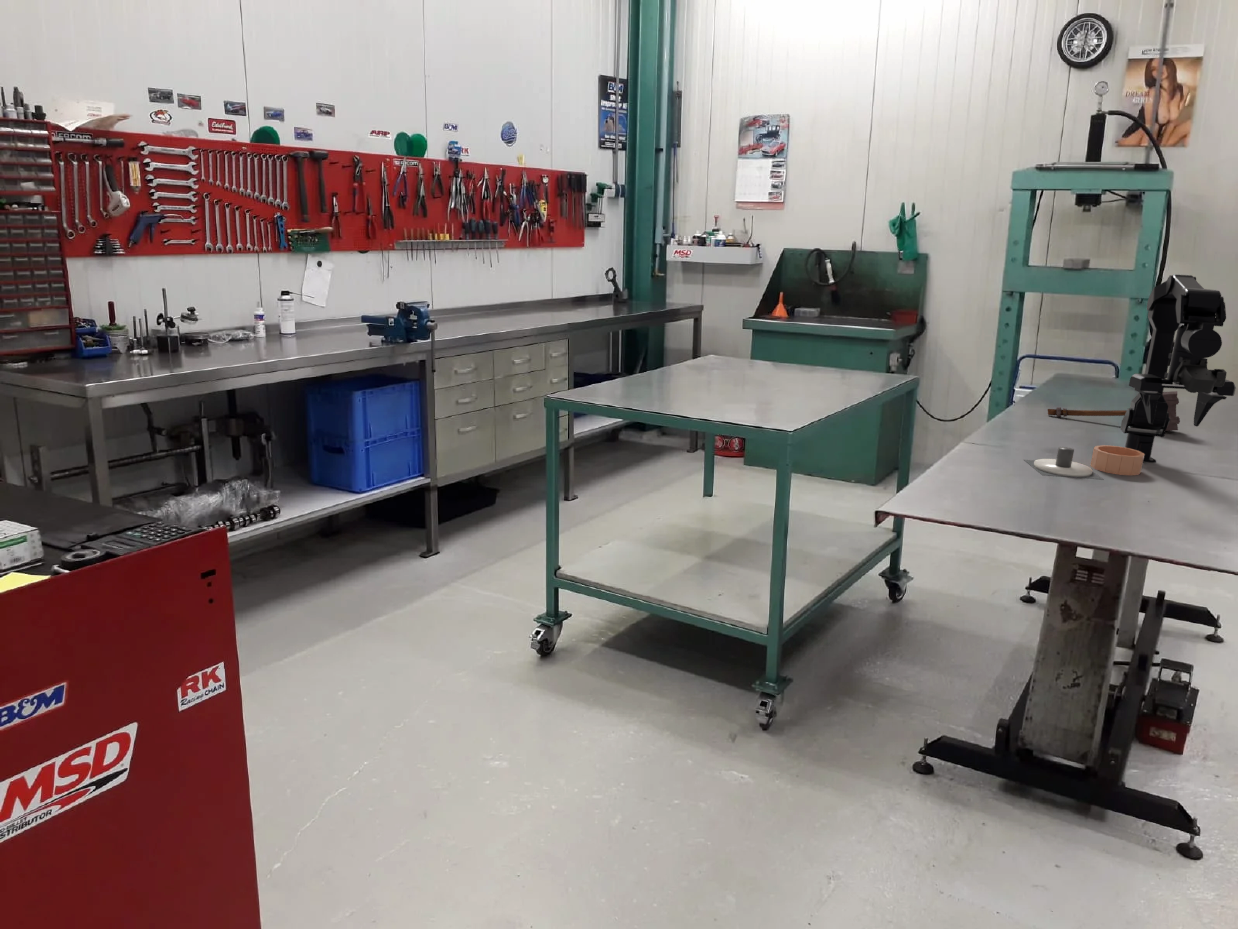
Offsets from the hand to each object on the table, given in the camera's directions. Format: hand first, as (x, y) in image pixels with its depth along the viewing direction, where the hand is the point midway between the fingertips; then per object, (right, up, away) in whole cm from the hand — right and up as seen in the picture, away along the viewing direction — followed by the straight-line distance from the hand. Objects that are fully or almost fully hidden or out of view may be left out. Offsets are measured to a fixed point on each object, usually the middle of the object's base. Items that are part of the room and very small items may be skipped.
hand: (1173, 424), depth 191 cm
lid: (-17, -9, +13) cm, 23 cm away
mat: (-17, -10, +13) cm, 24 cm away
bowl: (-3, -10, +16) cm, 19 cm away
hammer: (+22, +3, +66) cm, 70 cm away
